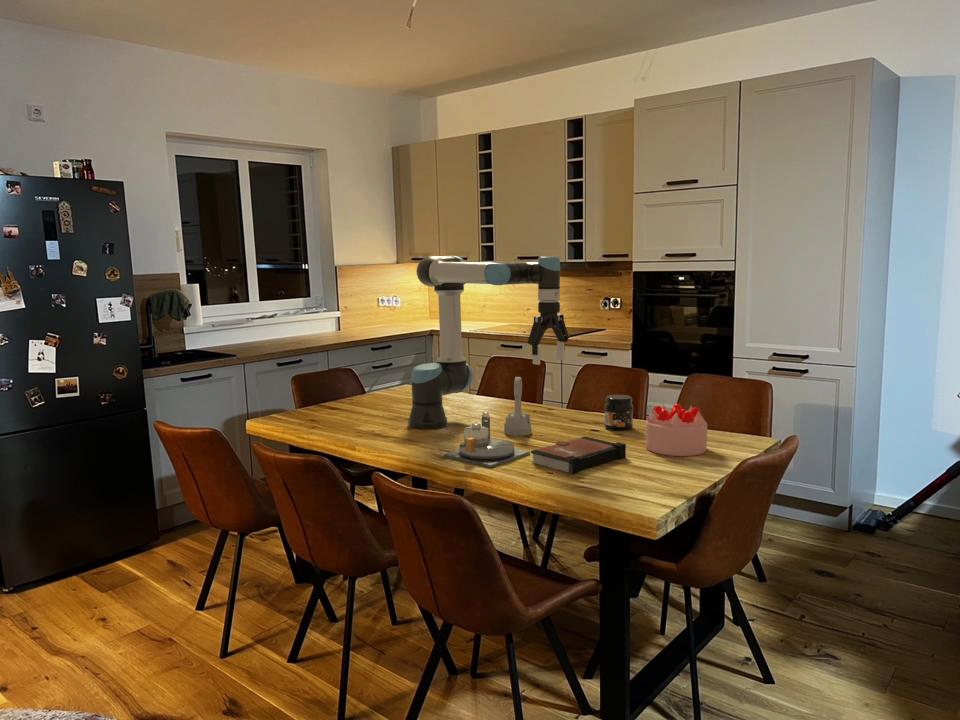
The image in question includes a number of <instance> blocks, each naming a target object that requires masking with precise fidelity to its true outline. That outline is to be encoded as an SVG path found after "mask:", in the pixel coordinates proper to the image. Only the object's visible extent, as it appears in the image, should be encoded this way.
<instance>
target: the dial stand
mask: <svg viewBox="0 0 960 720" xmlns="http://www.w3.org/2000/svg"><path fill="white" fill-rule="evenodd" d="M481 426H483V427H487V428H488V439H491V417H490V414H489V412H487V411H484V412H482V414H481Z"/></svg>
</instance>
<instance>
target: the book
mask: <svg viewBox="0 0 960 720" xmlns="http://www.w3.org/2000/svg"><path fill="white" fill-rule="evenodd" d="M626 447H627V444H626V443H623V442H612V441H607V440H603V439H598V438H593V437H589V436H582V437H577V438H574V439H570V440H567V441H563V440H561V441H557V442H556V443H555V444H551V445H548V446H544V447H540V448H537V449H533V450H531V451H530V454H532V460H533V461H532V462H531V463H532V464H531V465H535V466H539V467H542V468H547V469H549V470H552V471H553V470H554V471H557V472H562V473H564V474H567V475H572V476H573V475H576V474H578V473H579V474H580V472H583V471H585V470H589V469H592V468H595V467H598V466H601V465H604V464H608V463H612V462H614V461H617V460H620V461H621V460H623V459H626V458H627V457H626V454H627V452H626V451H627V448H626Z"/></svg>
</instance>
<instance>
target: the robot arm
mask: <svg viewBox="0 0 960 720" xmlns="http://www.w3.org/2000/svg"><path fill="white" fill-rule="evenodd" d="M537 260H538V261H537V262H536V261H535V262H532V261H531V262H529V261H526V262H525V261H517V262H477V261H475V262H474V261H472V262H471V261H469V262H468V261H465V259H463V258H462V257H460V256H456V255H442V256H441V255H429V256H426V257H424V258H423V259H421V260H420V261H419V262H418V264H417V266H416V276H417V278H418V280H419V282H420V283H421V284H423V285H424V286H426V287H433V288H434V291H433V292H435V293H436V295H438V296H437V297H438V322H439V325H438V326H439V349H440V351H439V353H440V356H439V357H438V358H437V359H436V362H430V363H422V364H419V365H416V366H415V367H413V368H412V370H411V379H410V380H411V381H410V382H411V409H410V414H409V418H408V420H407V425H408V427H409V428H411V429H417V430H435V429H441V428H445V427H446V426H448V417H447V416H446V412H445V410H444V406H443V396H448V395H452V394H453V395H454V394H459V393H461V392H464V391H466V390H467V389H468V388H469V387H470V386H471V384H472V382H473V377H474V376H473V370H472V368H471V366H470V365H469V364H468V363H467V358H466V357H464V356H463V345H462V344H463V341H462V340H463V339H462V310H461V308H462V307H461V295H462V293H463V292H464V291H465V284H475V285H476V284H479V285H492V286H506V285H507V286H508V285H527V284H528V285H530V284H531V285H532V284H534V285H538V289H537V291H538V292H537V300H538V303H537V312H538V313H539V314H540V315H539V316H537V315H535V316H533V323H532V327H531V330H530V334H529V336H528V340H527V344H528V345H529V346H531V355H532V365H538V366H539V365H541V345H539V344H540V343H541V340H542V339H543V336H544V334H545V332H546V331H547V330H549V329H552V331H553V334H554V335H555V336H556V339H557V340H558V341H556V360H557V361H564V360H565V349H566V344H565V343H567V342H568V340H569V338H570V337H569V334H568V333H569V332H568V330H567V327H566V326H567V325H566V323H565V318H564V313H560V312H561V302H559V301H560V300H561V299H560V298H561V293H560V292H561V289H560V288H561V286H560V285H561V283H560V282H561V270H562V269H561V260H560V257H559V256H539V257H538V259H537Z"/></svg>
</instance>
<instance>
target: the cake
mask: <svg viewBox="0 0 960 720" xmlns="http://www.w3.org/2000/svg"><path fill="white" fill-rule="evenodd" d="M702 415H703V414H702V412H701V409H700V408H699V407H697V406H695V407H693V406H692V405H690V406H689V409H688V410H687V409H685V408H683V406H682V405H681V404H680V403H675V404H673V406H672V407H671V410H670V411H669V410H668V409H667V408H666V405H665V404H663V403H662V407H661V405H655V406H654V407H653V408H652V409H651V413H649V415H648V417H647V420H646V421H645V423H646V424H645V428H646V429H645V447H646V449H647V450H648V451H649V452H651V453H655V454H659V455H662V456H663V455H664V456H668V457H669V456H670V457H691V456H692V457H693V456H694V457H695V456H699V455H703V454H705V452H706V451H707V443H708V442H707V441H708V423H707V421H706V420H705V418H704V417H703V416H702Z"/></svg>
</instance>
